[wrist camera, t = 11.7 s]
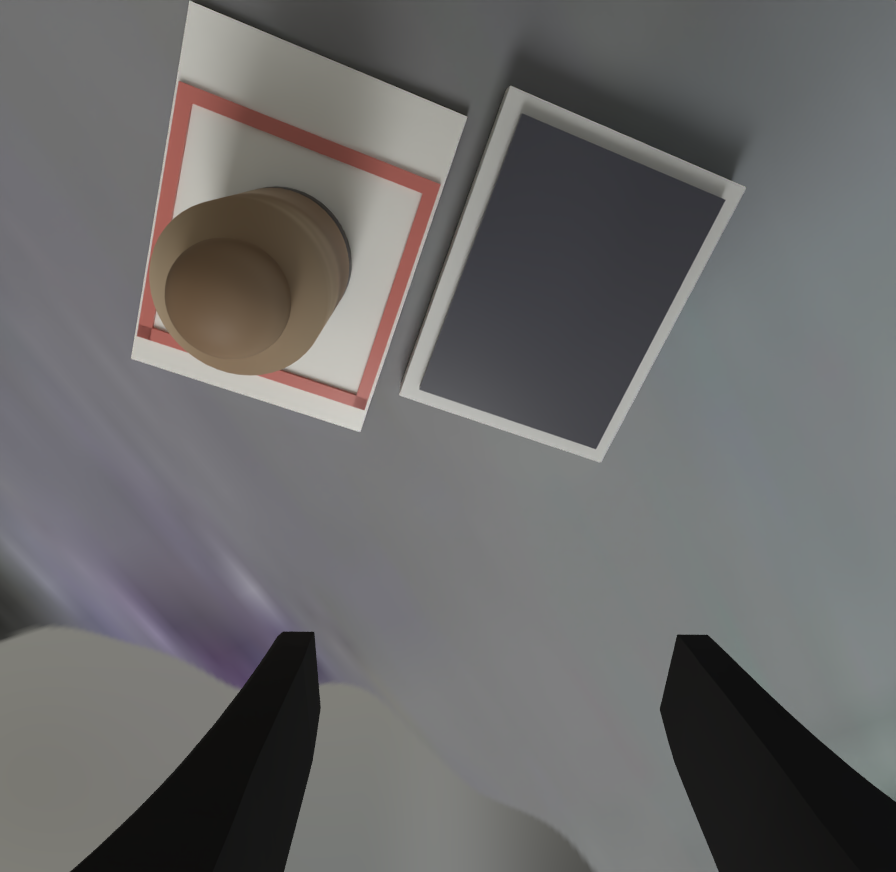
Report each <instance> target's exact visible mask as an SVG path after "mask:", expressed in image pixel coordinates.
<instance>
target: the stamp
mask: <svg viewBox="0 0 896 872" xmlns="http://www.w3.org/2000/svg"><path fill="white" fill-rule="evenodd" d="M351 270H352V258H351V250H350V246H349V242H348V239H347V237H346V234H345V232H344V230H343V228H342V226H341V224H340V223H339V221H338V220H337V218H336V217H335V216H334V214H333V213H332V212H331V211H330V210H329V209H328V208H327V207H326V206H325V205H324V204H322V203H321V202H320V201H318V200H317V199H315V198H314V197H312V196H310V195H309V194H307V193H305V192H302V191H299V190H296V189H293V188H288V187H279V186H273V187H264V188H259V189H255V190H251V191H247V192H243V193H239V194H235V195H231V196H227V197H223V198H219V199H214V200H210V201H206V202H202V203H200V204H197V205H194V206H192V207H190V208H188V209H186V210H185V211H183V212H181V213H180V214H179V215H177V216H176V217H175V218H174V219H173V220H172V221H171V222H170V223H169V224H168V225H167V226H166V227H165V228H164V230H163V231H162V233H161V234H160V236H159V238H158V240H157V242H156V244H155V246H154V249H153V253H152V256H151V261H150V268H149V282H150V290H151V295H152V299H153V303H154V306H155V308H156V311H157V313H158V315H159V317H160V319H161V321H162V323H163V325H164V326H165V328H166V329H167V331H168V332H169V334H170V335H171V336H172V337H173V338H174V340H175V341H176V342H177V343H178V344H179V345H180V346H181V347H182V348H183V349H184V350H185V351H187V352H188V353H189V354H191V355H192V356H193V357H195V358H196V359H198V360H199V361H201V362H203V363H204V364H206V365H208V366H211V367H213V368H215V369H217V370H221V371H224V372H227V373H232V374H237V375H250V376H251V375H263V374H268V373H273V372H276V371H279V370H282V369H284V368H286V367H288V366H290V365H291V364H293V363H294V362H296V361H297V360H299V359H300V358H301V357H302V356H303V355H304V354H306V353H307V351H308V350H309V349H310V348H311V347H312V345H313V344H314V342H315V341H316V339H317V338H318V336H319V334H320V333H321V331H322V330H323V328H324V326H325V325H326V323H327V321H328V320H329V318H330V317H331V315H332V313H333V312H334V310H335V308H336V307H337V305H338V304H339V302H340V300H341V299H342V297H343V295H344V294H345V292H346V289H347V287H348V284H349V281H350V277H351Z"/></svg>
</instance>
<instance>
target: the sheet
mask: <svg viewBox="0 0 896 872" xmlns="http://www.w3.org/2000/svg"><path fill="white" fill-rule="evenodd" d="M466 120H467V116H465V115H462V114H460V113H457V112H455V111H453V110H450V109H448V108H445V107H443V106H441V105H438V104H436V103H433V102H431V101H429V100H426V99H424V98H421V97H419V96H417V95H414V94H412V93H410V92H407V91H405V90H402V89H400V88H398V87H395V86H393V85H390V84H388V83H386V82H383V81H381V80H378V79H376V78H374V77H371V76H369V75H366V74H364V73H362V72H359V71H357V70H354V69H352V68H350V67H347V66H345V65H342V64H340V63H338V62H335V61H333V60H330V59H328V58H326V57H323V56H321V55H319V54H316V53H314V52H311V51H309V50H307V49H304V48H302V47H299V46H297V45H295V44H292V43H290V42H287V41H285V40H283V39H280V38H278V37H275V36H273V35H271V34H268V33H266V32H263V31H261V30H259V29H256V28H254V27H251V26H249V25H247V24H244V23H242V22H239V21H237V20H235V19H232V18H230V17H228V16H225V15H223V14H220V13H218V12H216V11H213V10H211V9H208V8H206V7H204V6H201V5H199V4H196V3H194V2H192V1H189V7H188V13H187V19H186V25H185V31H184V38H183V44H182V50H181V56H180V62H179V68H178V74H177V80H176V87H175V93H174V99H173V105H172V111H171V117H170V123H169V129H168V136H167V142H166V148H165V154H164V160H163V166H162V172H161V178H160V185H159V191H158V197H157V203H156V209H155V215H154V221H153V227H152V234H151V240H150V246H149V252H148V258H147V264H146V270H145V276H144V283H143V289H142V295H141V301H140V307H139V313H138V319H137V325H136V332H135V338H134V344H133V350H132V356H131V359H134V360H137V361H140V362H143V363H146V364H149V365H152V366H156V367H159V368H162V369H165V370H168V371H171V372H174V373H177V374H181V375H184V376H187V377H190V378H193V379H196V380H199V381H202V382H205V383H209V384H212V385H215V386H218V387H221V388H224V389H227V390H230V391H234V392H237V393H240V394H243V395H246V396H249V397H252V398H255V399H258V400H262V401H265V402H268V403H271V404H274V405H277V406H280V407H283V408H287V409H290V410H293V411H296V412H299V413H302V414H305V415H308V416H312V417H315V418H318V419H321V420H324V421H327V422H330V423H333V424H336V425H340V426H343V427H346V428H349V429H352V430H355V431H358V432H360V431H361V428H362V425H363V422H364V419H365V416H366V413H367V410H368V407H369V405H370V402H371V399H372V396H373V393H374V390H375V387H376V384H377V381H378V378H379V375H380V372H381V369H382V366H383V363H384V360H385V358H386V355H387V352H388V349H389V346H390V343H391V340H392V337H393V334H394V331H395V328H396V325H397V322H398V319H399V316H400V313H401V311H402V308H403V305H404V302H405V299H406V296H407V293H408V290H409V287H410V284H411V281H412V278H413V275H414V272H415V269H416V266H417V264H418V261H419V258H420V255H421V252H422V249H423V246H424V243H425V240H426V237H427V234H428V231H429V228H430V225H431V222H432V219H433V217H434V214H435V211H436V208H437V205H438V202H439V199H440V196H441V193H442V190H443V187H444V184H445V181H446V178H447V175H448V172H449V170H450V167H451V164H452V161H453V158H454V155H455V152H456V149H457V146H458V143H459V140H460V137H461V134H462V131H463V128H464V125H465V123H466ZM273 186H279V187H288V188H293V189H296V190H299V191H302V192H305V193H307V194H309V195H310V196H312V197H314V198H315V199H317V200H318V201H320V202H321V203H322V204H324V205H325V206H326V207H327V208H328V209H329V210H330V211H331V212H332V213H333V214H334V216H335V217H336V218H337V220H338V221H339V223H340V224H341V226H342V228H343V230H344V232H345V234H346V237H347V239H348V242H349V246H350V250H351V258H352V270H351V277H350V281H349V284H348V287H347V289H346V292H345V294H344V295H343V297H342V299H341V300H340V302H339V304H338V305H337V307H336V308H335V310H334V312H333V313H332V315H331V317H330V318H329V320H328V321H327V323H326V325H325V326H324V328H323V330H322V331H321V333H320V334H319V336H318V338H317V339H316V341H315V342H314V344H313V345H312V347H311V348H310V349H309V350H308V351H307V353H306V354H304V355H303V356H302V357H301V358H300V359H299V360H297V361H296V362H294V363H293V364H291V365H290V366H288V367H286V368H284V369H282V370H279V371H276V372H273V373H268V374H263V375H251V376H250V375H237V374H232V373H227V372H224V371H221V370H217V369H215V368H213V367H211V366H208V365H206V364H204V363H203V362H201V361H199V360H198V359H196V358H195V357H193V356H192V355H191V354H189V353H188V352H187V351H185V350H184V349H183V348H182V347H181V346H180V345H179V344H178V343H177V342H176V341H175V340H174V338H173V337H172V336H171V335H170V334H169V332H168V331H167V329H166V328H165V326H164V325H163V323H162V321H161V319H160V317H159V315H158V313H157V311H156V308H155V306H154V303H153V299H152V295H151V290H150V282H149V268H150V261H151V256H152V253H153V249H154V246H155V244H156V242H157V240H158V238H159V236H160V234H161V233H162V231H163V230H164V228H165V227H166V226H167V225H168V224H169V223H170V222H171V221H172V220H173V219H174V218H175V217H176V216H177V215H179V214H180V213H181V212H183V211H185V210H186V209H188V208H190V207H192V206H194V205H197V204H200V203H202V202H206V201H210V200H214V199H219V198H223V197H227V196H231V195H235V194H239V193H243V192H247V191H251V190H255V189H259V188H264V187H273Z"/></svg>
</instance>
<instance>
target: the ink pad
mask: <svg viewBox="0 0 896 872" xmlns="http://www.w3.org/2000/svg"><path fill="white" fill-rule="evenodd" d="M746 188H747V187H744V186H742V185H740V184H737V183H735V182H733V181H730V180H728V179H726V178H723V177H721V176H719V175H717V174H714V173H712V172H710V171H707V170H705V169H703V168H700V167H698V166H696V165H693V164H691V163H689V162H686V161H684V160H682V159H679V158H677V157H675V156H672V155H670V154H668V153H666V152H663V151H661V150H659V149H656V148H654V147H652V146H649V145H647V144H645V143H642V142H640V141H638V140H635V139H633V138H631V137H628V136H626V135H624V134H621V133H619V132H617V131H615V130H612V129H610V128H608V127H605V126H603V125H601V124H598V123H596V122H594V121H591V120H589V119H587V118H584V117H582V116H580V115H577V114H575V113H573V112H570V111H568V110H566V109H564V108H561V107H559V106H557V105H554V104H552V103H550V102H547V101H545V100H543V99H540V98H538V97H536V96H533V95H531V94H529V93H526V92H524V91H522V90H519V89H517V88H515V87H513V86H509V87H508V88H507V89H506V91H505V94H504V97H503V100H502V102H501V105H500V108H499V111H498V114H497V116H496V119H495V122H494V125H493V128H492V130H491V133H490V136H489V139H488V142H487V144H486V147H485V150H484V153H483V156H482V158H481V161H480V164H479V167H478V170H477V172H476V175H475V178H474V181H473V184H472V186H471V189H470V192H469V195H468V198H467V200H466V203H465V206H464V209H463V211H462V214H461V217H460V220H459V223H458V225H457V228H456V231H455V234H454V237H453V239H452V242H451V245H450V248H449V251H448V253H447V256H446V259H445V262H444V265H443V267H442V270H441V273H440V276H439V279H438V281H437V284H436V287H435V290H434V293H433V295H432V298H431V301H430V304H429V307H428V309H427V312H426V315H425V318H424V321H423V323H422V326H421V329H420V332H419V335H418V337H417V340H416V343H415V346H414V348H413V351H412V354H411V357H410V360H409V362H408V365H407V368H406V371H405V374H404V376H403V379H402V382H401V386H400V392H399V395H400V396H403V397H406V398H409V399H412V400H415V401H418V402H421V403H423V404H426V405H429V406H432V407H435V408H438V409H441V410H444V411H447V412H450V413H453V414H456V415H459V416H462V417H465V418H468V419H471V420H474V421H477V422H480V423H483V424H486V425H489V426H492V427H495V428H498V429H501V430H504V431H507V432H510V433H513V434H516V435H519V436H522V437H525V438H528V439H531V440H534V441H537V442H540V443H543V444H546V445H549V446H552V447H555V448H558V449H561V450H564V451H567V452H570V453H573V454H576V455H579V456H582V457H585V458H588V459H591V460H594V461H597V462H600V463H601V462H602V460H603V458H604V456H605V454H606V452H607V450H608V448H609V446H610V445H611V443H612V441H613V439H614V437H615V435H616V433H617V431H618V429H619V428H620V426H621V424H622V422H623V420H624V418H625V416H626V414H627V412H628V411H629V409H630V407H631V405H632V403H633V401H634V399H635V397H636V395H637V393H638V392H639V390H640V388H641V386H642V384H643V382H644V380H645V378H646V376H647V375H648V373H649V371H650V369H651V367H652V365H653V363H654V361H655V359H656V358H657V356H658V354H659V352H660V350H661V348H662V346H663V344H664V342H665V341H666V339H667V337H668V335H669V333H670V331H671V329H672V327H673V325H674V324H675V322H676V320H677V318H678V316H679V314H680V312H681V310H682V308H683V307H684V305H685V303H686V301H687V299H688V297H689V295H690V293H691V291H692V290H693V288H694V286H695V284H696V282H697V280H698V278H699V276H700V274H701V273H702V271H703V269H704V267H705V265H706V263H707V261H708V259H709V257H710V256H711V254H712V252H713V250H714V248H715V246H716V244H717V242H718V240H719V239H720V237H721V235H722V233H723V231H724V229H725V227H726V225H727V223H728V222H729V220H730V218H731V216H732V214H733V212H734V210H735V208H736V206H737V205H738V203H739V201H740V199H741V197H742V195H743V193H744V191H745V189H746Z"/></svg>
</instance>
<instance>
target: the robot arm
mask: <svg viewBox="0 0 896 872" xmlns="http://www.w3.org/2000/svg"><path fill="white" fill-rule="evenodd" d="M660 712H661V715H662V719H663V723H664V727H665V731H666V734H667V738H668V742H669V745H670V749H671V752H672V755H673V759H674V762H675V765H676V767H677V770H678V772H679V775H680V777H681V780H682V782H683V785H684V787H685V790H686V792H687V795H688V797H689V800H690V802H691V805H692V807H693V810H694V812H695V814H696V817H697V819H698V822H699V824H700V827H701V829H702V832H703V834H704V836H705V839H706V841H707V844H708V846H709V849H710V851H711V853H712V856H713V858H714V861H715V863H716V866H717V868H718V871H719V872H896V802H895V801H894V800H892V799H891V798H890V797H888V796H887V795H886V794H884V793H883V792H882V791H880V790H879V789H878V788H876V787H875V786H874V785H872V784H871V783H870V782H869V781H867V780H866V779H865V778H864V777H862V776H861V775H860V774H859V773H857V772H856V771H855V770H854V769H853V768H851V767H850V766H849V765H848V764H847V763H845V762H844V761H843V760H842V759H841V758H840V757H838V756H837V755H836V754H835V753H834V752H833V751H831V750H830V749H829V748H828V747H827V746H825V745H824V744H823V743H822V742H821V741H820V740H818V739H817V738H816V737H815V736H814V735H813V734H812V733H811V732H809V731H808V730H807V729H806V728H805V727H804V726H803V725H802V724H801V723H799V722H798V721H797V720H796V719H795V718H794V717H793V716H792V715H791V714H790V713H789V712H787V711H786V710H785V709H784V708H783V707H782V706H781V705H780V704H779V703H778V702H777V701H776V700H775V699H774V698H773V697H771V696H770V695H769V694H768V693H767V692H766V691H765V690H764V689H763V688H762V687H761V686H760V685H759V684H758V683H757V682H756V681H755V680H754V679H753V678H752V677H751V676H750V675H749V674H748V673H747V672H746V671H744V670H743V669H742V668H741V667H740V666H739V665H738V664H737V663H736V662H735V661H734V660H733V659H732V658H731V657H730V656H729V655H728V654H727V653H726V652H725V651H724V650H723V649H722V648H721V647H720V646H719V645H718V644H717V643H716V642H715V641H714V640H713V639H711V638H710V637H709V636H708V635H677V638H676V642H675V647H674V651H673V655H672V659H671V664H670V668H669V672H668V676H667V681H666V685H665V689H664V694H663V698H662V702H661V706H660ZM319 714H320V695H319V683H318V672H317V660H316V648H315V636H314V632H282V633H281V634H280V635H279V636H278V637H277V638H276V640H275V641H274V643H273V644H272V646H271V647H270V649H269V650H268V652H267V654H266V655H265V657H264V658H263V659H262V661H261V662H260V664H259V665H258V667H257V668H256V670H255V671H254V672H253V674H252V675H251V677H250V678H249V679H248V681H247V682H246V684H245V685H244V686H243V688H242V689H241V690H240V692H239V693H238V694H237V696H236V697H235V698H234V699H233V701H232V702H231V703H230V705H229V706H228V707H227V709H226V710H225V711H224V713H223V714H222V715H221V716H220V718H219V719H218V720H217V722H216V723H215V724H214V725H213V727H212V728H211V729H210V730H209V731H208V732H207V734H206V735H205V736H204V737H203V738H202V739H201V741H200V742H199V743H198V744H197V745H196V747H195V748H194V749H193V750H192V751H191V753H190V754H189V755H188V756H187V757H186V758H185V760H184V761H183V762H182V763H181V764H180V765H179V766H178V767H177V769H176V770H175V771H174V772H173V773H172V774H171V775H170V776H169V777H168V778H167V779H166V781H165V782H164V783H163V784H162V785H161V786H160V787H159V788H158V789H157V790H156V791H155V792H154V793H153V794H152V795H151V796H150V797H149V798H148V799H147V800H146V801H145V802H144V803H143V804H142V805H141V806H140V807H139V808H138V810H136V811H135V812H134V813H133V814H132V815H131V816H130V817H129V818H128V819H127V820H126V821H125V822H124V823H123V824H122V825H121V826H120V827H119V828H118V829H117V830H116V831H114V832H113V833H112V834H111V835H110V836H109V837H108V838H107V839H106V840H105V841H104V842H103V843H102V844H101V845H100V846H99V847H98V848H96V849H95V850H94V851H93V852H92V853H91V854H90V855H89V856H87V857H86V858H85V859H84V860H83V861H82V862H81V863H80V864H78V866H76V867H75V868H74V869H73V870H72V871H70V872H284V869H285V865H286V861H287V857H288V854H289V850H290V846H291V842H292V838H293V834H294V831H295V827H296V823H297V819H298V815H299V812H300V808H301V804H302V800H303V796H304V792H305V789H306V784H307V781H308V777H309V773H310V769H311V765H312V761H313V754H314V748H315V741H316V736H317V729H318V722H319Z"/></svg>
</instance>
